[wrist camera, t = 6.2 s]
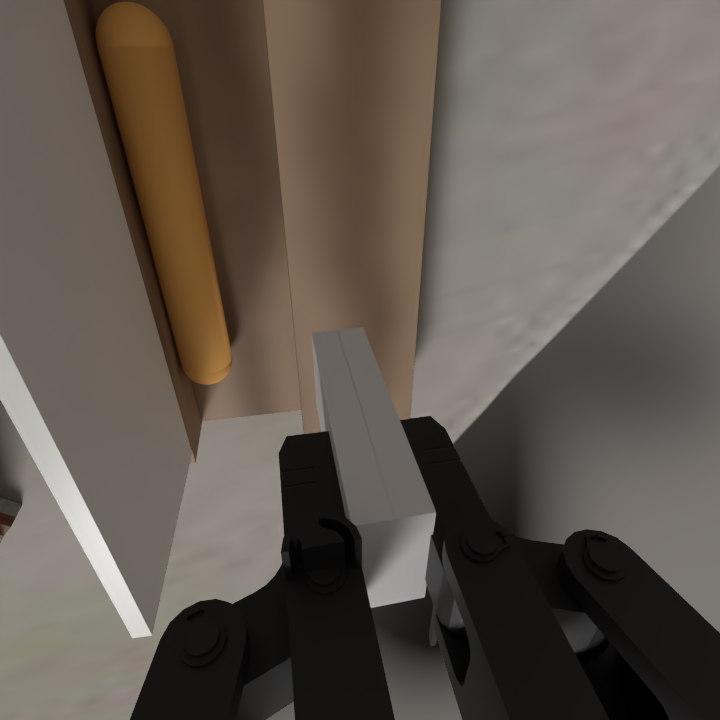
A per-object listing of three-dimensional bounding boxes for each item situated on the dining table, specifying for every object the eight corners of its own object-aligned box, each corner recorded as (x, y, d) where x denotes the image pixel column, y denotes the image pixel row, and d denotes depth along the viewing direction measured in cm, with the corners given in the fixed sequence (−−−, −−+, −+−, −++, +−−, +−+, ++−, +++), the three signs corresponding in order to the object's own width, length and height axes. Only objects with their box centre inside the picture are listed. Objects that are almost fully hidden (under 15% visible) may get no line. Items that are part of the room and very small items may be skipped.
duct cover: (192, 452, 29) (178, 453, 29) (22, -146, 15) (-6, -147, 15) (151, 635, 20) (132, 638, 20) (-395, -449, 6) (-475, -457, 6)
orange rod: (197, 365, 31) (178, 393, 28) (110, 4, 20) (68, -2, 18) (242, 367, 31) (226, 396, 28) (177, 3, 20) (143, -3, 18)
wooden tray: (145, 418, 33) (129, 470, 29) (-48, -145, 18) (-141, -202, 14) (392, 391, 36) (408, 435, 32) (414, -124, 20) (453, -166, 16)
